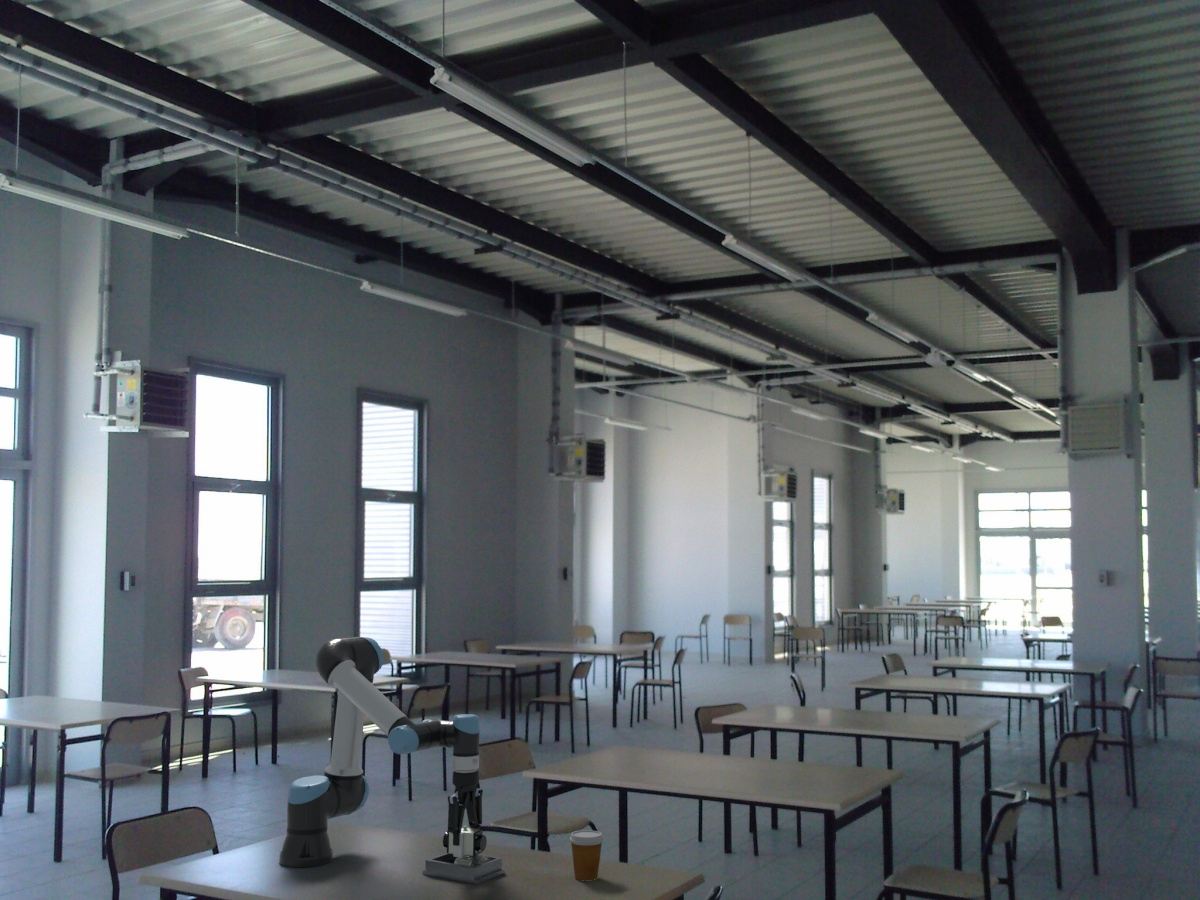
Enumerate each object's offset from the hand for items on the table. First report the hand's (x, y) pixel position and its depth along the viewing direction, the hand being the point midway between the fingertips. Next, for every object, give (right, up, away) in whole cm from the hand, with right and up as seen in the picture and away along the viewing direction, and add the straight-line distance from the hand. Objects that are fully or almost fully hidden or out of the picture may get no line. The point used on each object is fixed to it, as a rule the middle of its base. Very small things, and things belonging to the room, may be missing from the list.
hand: (464, 854), depth 303 cm
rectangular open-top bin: (0, -5, -1) cm, 5 cm away
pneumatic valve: (0, -4, 0) cm, 4 cm away
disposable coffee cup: (+34, -5, -4) cm, 35 cm away
